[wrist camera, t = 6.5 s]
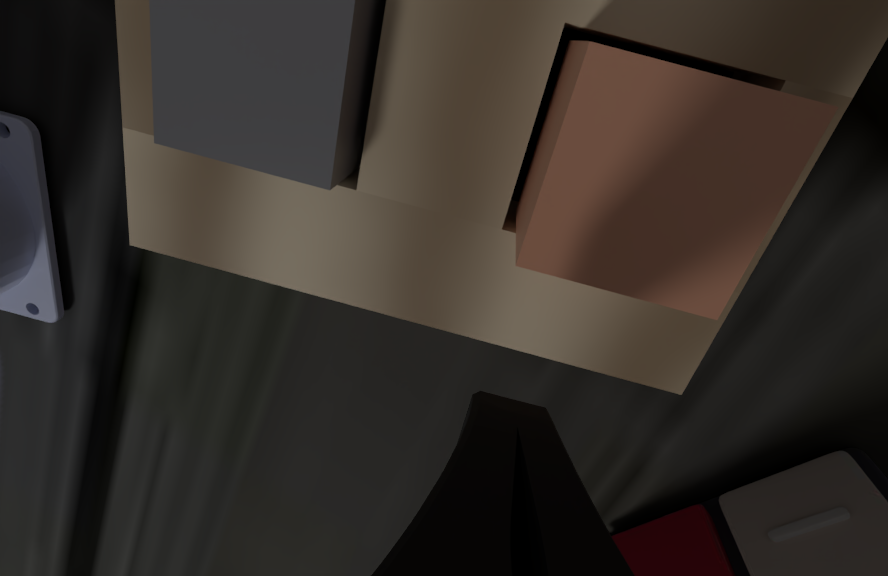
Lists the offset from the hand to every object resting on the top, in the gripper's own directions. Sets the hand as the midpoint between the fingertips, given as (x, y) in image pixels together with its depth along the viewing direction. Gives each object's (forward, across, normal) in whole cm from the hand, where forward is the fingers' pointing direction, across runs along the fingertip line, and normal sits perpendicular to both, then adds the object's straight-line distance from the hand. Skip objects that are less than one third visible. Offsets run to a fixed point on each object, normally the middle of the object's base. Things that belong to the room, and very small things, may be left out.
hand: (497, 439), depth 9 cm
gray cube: (+8, +7, -5) cm, 12 cm away
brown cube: (+7, -2, -4) cm, 8 cm away
